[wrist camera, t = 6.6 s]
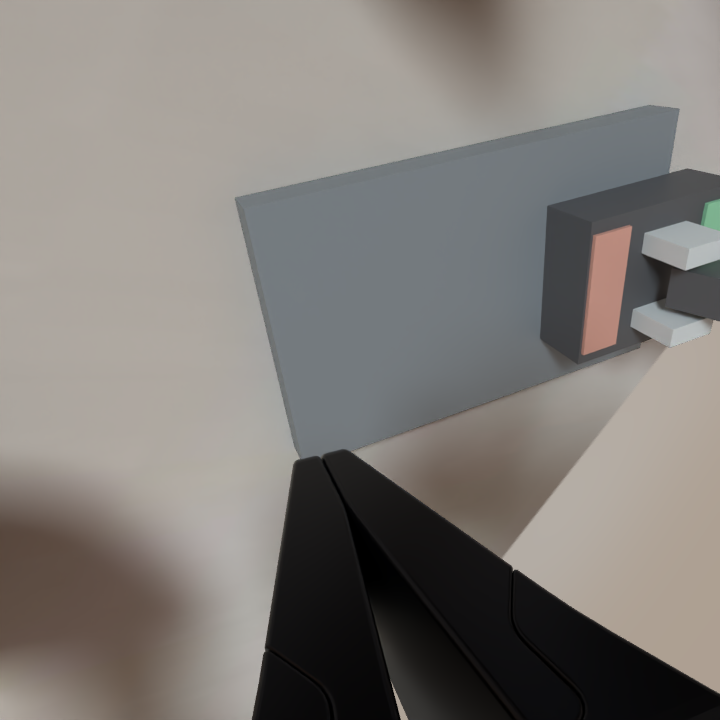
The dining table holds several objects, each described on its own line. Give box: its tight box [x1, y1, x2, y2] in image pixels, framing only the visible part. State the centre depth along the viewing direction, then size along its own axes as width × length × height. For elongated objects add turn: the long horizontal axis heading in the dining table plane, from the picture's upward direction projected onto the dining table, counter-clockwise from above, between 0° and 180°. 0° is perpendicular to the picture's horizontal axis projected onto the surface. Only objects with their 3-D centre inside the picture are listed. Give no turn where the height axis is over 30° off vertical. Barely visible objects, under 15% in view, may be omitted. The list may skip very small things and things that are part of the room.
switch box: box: [235, 105, 720, 459], centre depth 22 cm, size 18×11×6 cm, turn 97°
